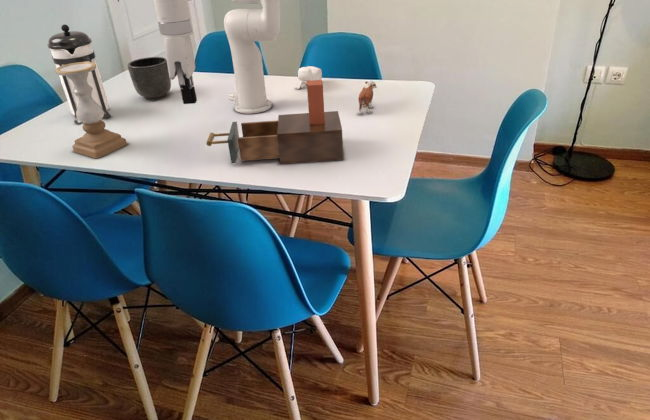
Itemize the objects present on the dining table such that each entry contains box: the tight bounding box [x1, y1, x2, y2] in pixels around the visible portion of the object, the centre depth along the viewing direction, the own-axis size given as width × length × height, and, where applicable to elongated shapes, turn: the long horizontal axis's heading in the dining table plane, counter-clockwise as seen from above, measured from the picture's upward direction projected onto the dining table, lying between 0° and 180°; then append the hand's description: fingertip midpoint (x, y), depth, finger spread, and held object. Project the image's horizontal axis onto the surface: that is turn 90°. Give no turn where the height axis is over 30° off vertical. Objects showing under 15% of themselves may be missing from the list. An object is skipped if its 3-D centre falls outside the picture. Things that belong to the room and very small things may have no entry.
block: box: [306, 79, 325, 125], centre depth 129 cm, size 4×4×10 cm
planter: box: [127, 56, 172, 101], centre depth 180 cm, size 14×14×13 cm
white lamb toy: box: [295, 65, 323, 90], centre depth 182 cm, size 9×8×15 cm
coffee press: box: [47, 23, 112, 125], centre depth 162 cm, size 17×16×30 cm
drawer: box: [205, 120, 280, 164], centre depth 133 cm, size 22×12×7 cm, turn 93°
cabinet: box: [277, 110, 344, 165], centre depth 134 cm, size 17×14×9 cm
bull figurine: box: [358, 79, 378, 115], centre depth 159 cm, size 4×13×8 cm, turn 161°
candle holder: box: [54, 62, 128, 159], centre depth 139 cm, size 11×11×24 cm
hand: (190, 102), depth 127 cm, fingers closed
